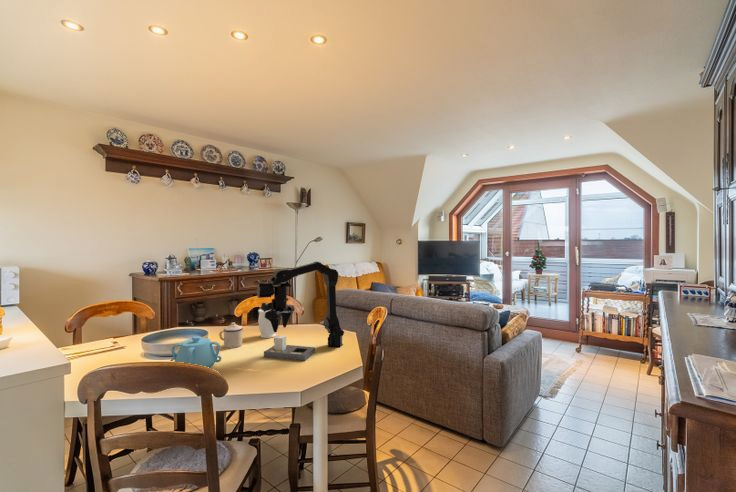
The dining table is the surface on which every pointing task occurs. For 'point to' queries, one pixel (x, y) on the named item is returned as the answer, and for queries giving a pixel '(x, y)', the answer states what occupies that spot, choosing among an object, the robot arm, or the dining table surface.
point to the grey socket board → (291, 353)
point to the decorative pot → (197, 352)
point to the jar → (265, 326)
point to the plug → (280, 343)
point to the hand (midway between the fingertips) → (280, 329)
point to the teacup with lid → (232, 336)
